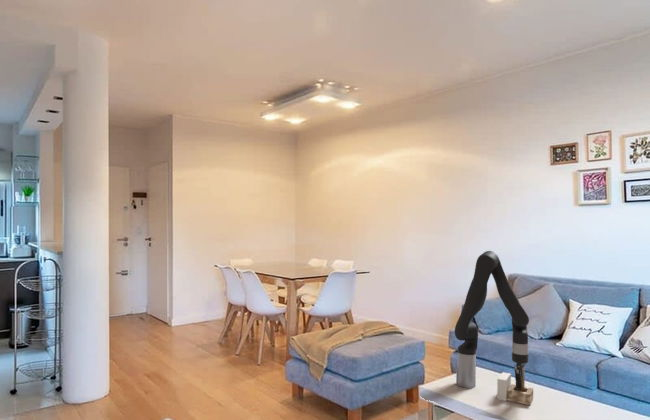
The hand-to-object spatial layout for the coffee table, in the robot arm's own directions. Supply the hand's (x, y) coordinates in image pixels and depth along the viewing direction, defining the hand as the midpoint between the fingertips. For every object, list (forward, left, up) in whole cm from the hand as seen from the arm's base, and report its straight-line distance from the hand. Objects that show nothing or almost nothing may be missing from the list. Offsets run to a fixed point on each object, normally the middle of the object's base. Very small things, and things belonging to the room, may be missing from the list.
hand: (519, 386), depth 219 cm
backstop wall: (-7, 0, -6) cm, 10 cm away
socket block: (0, 0, -6) cm, 6 cm away
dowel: (0, 0, -3) cm, 3 cm away
